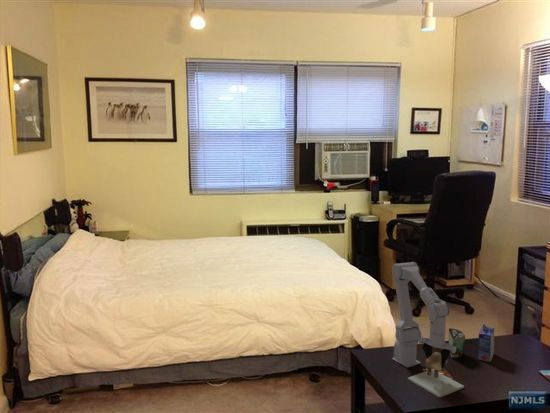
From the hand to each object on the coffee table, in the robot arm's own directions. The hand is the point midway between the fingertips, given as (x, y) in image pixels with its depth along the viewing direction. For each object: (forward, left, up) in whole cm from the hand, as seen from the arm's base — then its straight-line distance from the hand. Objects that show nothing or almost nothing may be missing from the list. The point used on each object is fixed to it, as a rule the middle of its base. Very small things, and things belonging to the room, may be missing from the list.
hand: (436, 364), depth 187 cm
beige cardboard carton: (0, 0, -4) cm, 4 cm away
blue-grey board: (0, 0, -8) cm, 8 cm away
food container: (-13, +29, -8) cm, 33 cm away
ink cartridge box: (-5, +38, -8) cm, 39 cm away
